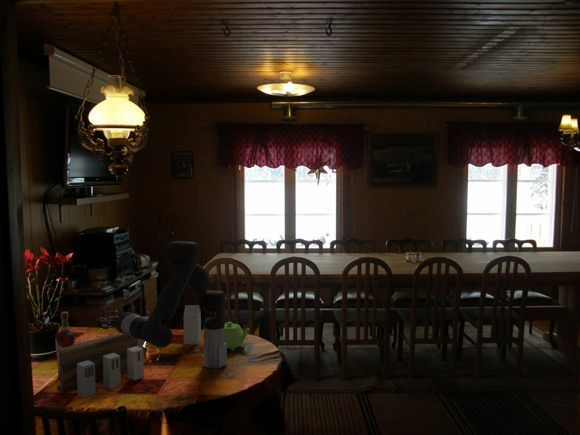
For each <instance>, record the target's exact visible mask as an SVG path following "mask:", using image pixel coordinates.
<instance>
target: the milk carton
mask: <svg viewBox="0 0 580 435" xmlns="http://www.w3.org/2000/svg"><path fill="white" fill-rule="evenodd" d="M201 316H202V314H201V308H200V306H199V304H197V305H196V304H195V305H194V304H193V305H192V304H191V305H187V304H186V305H184V311H183V345H199V344H200V342H201V340H202V328H201V327H202V322H201V321H202V318H201Z"/></svg>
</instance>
